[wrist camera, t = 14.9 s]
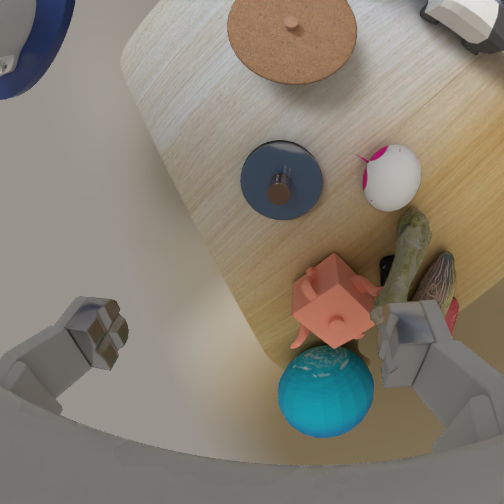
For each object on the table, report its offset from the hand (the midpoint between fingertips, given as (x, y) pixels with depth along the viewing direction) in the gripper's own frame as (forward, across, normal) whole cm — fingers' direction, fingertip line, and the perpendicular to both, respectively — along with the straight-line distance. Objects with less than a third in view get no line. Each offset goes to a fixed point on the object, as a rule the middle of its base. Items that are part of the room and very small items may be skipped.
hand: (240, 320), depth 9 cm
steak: (+27, -27, +27) cm, 47 cm away
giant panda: (+28, -22, -15) cm, 38 cm away
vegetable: (+24, -17, +34) cm, 45 cm away
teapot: (+28, -6, +20) cm, 34 cm away
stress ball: (+28, -11, +4) cm, 30 cm away
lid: (+26, +1, +5) cm, 27 cm away
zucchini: (+15, -9, +16) cm, 24 cm away
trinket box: (+28, -2, -11) cm, 30 cm away
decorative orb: (+17, -6, +42) cm, 46 cm away
